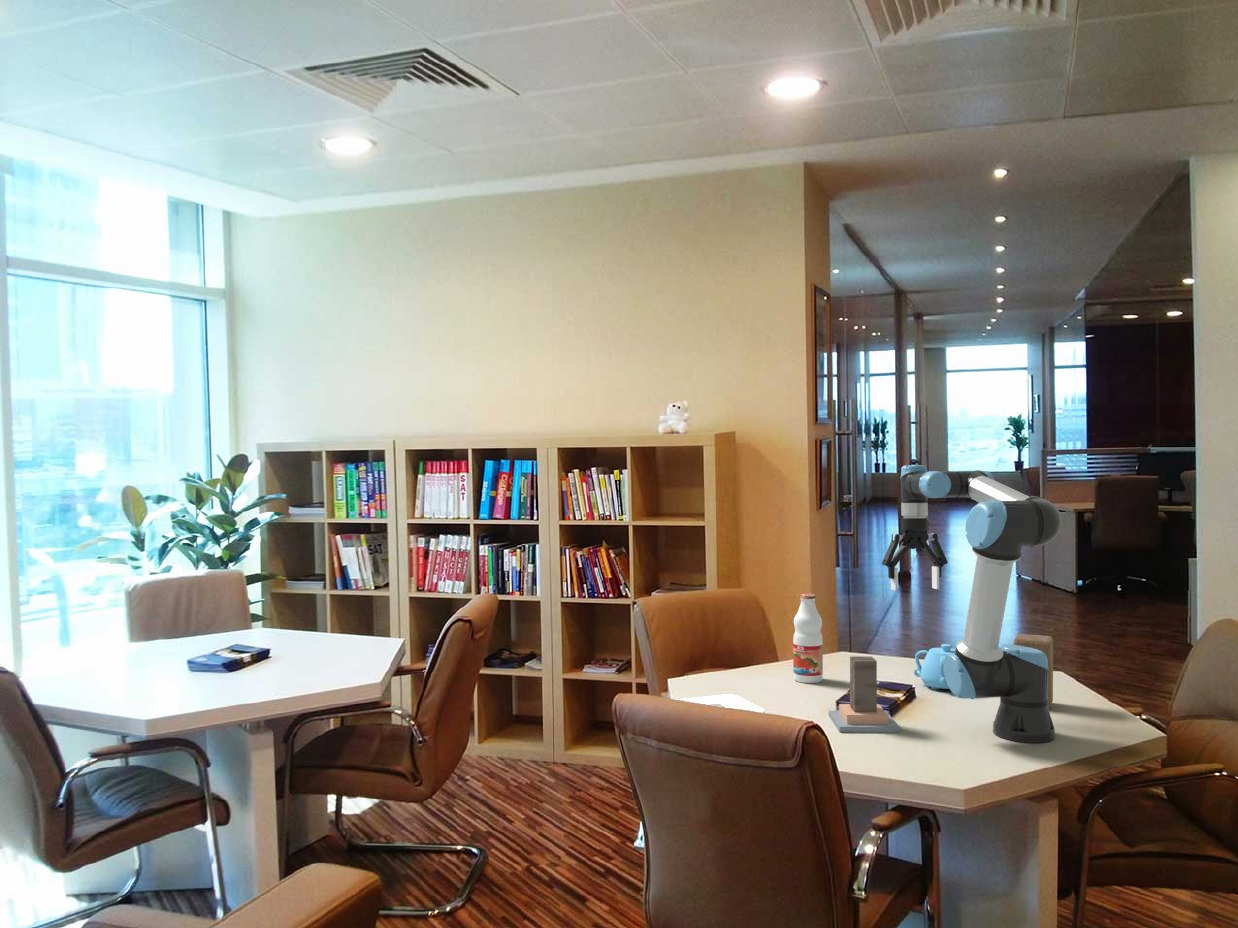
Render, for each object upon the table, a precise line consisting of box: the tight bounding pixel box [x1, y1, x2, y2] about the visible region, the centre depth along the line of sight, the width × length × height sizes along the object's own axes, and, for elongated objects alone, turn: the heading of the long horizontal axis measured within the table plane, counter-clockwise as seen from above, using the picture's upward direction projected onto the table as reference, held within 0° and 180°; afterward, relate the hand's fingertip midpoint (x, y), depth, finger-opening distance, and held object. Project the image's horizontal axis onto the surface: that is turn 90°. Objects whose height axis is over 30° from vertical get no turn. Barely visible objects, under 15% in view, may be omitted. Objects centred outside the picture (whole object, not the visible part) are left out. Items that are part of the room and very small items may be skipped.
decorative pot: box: [913, 643, 956, 691], centre depth 313 cm, size 16×16×14 cm
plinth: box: [828, 703, 901, 733], centre depth 274 cm, size 16×16×4 cm
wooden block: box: [1013, 633, 1054, 710], centre depth 292 cm, size 10×10×20 cm
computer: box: [676, 693, 766, 714], centre depth 285 cm, size 22×22×3 cm
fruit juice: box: [792, 593, 824, 684], centre depth 324 cm, size 9×9×28 cm
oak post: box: [849, 655, 878, 712], centre depth 274 cm, size 6×6×14 cm
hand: (915, 589), depth 294 cm, fingers open, 13 cm apart
